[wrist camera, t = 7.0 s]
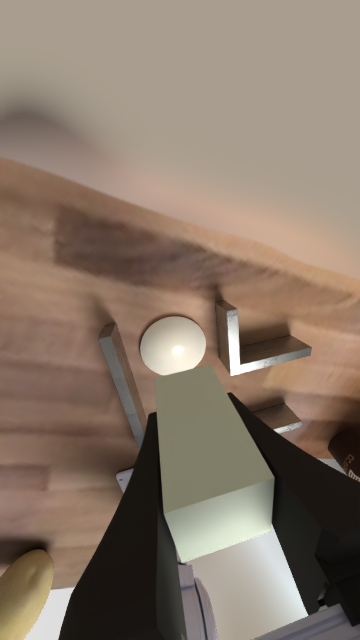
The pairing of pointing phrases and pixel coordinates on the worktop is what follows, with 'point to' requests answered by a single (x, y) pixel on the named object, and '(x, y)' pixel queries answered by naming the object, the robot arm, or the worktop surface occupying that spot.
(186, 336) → the cream dome disc
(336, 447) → the coffee mug
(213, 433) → the sage block
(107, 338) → the bent metal channel
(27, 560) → the potato
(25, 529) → the worktop surface
